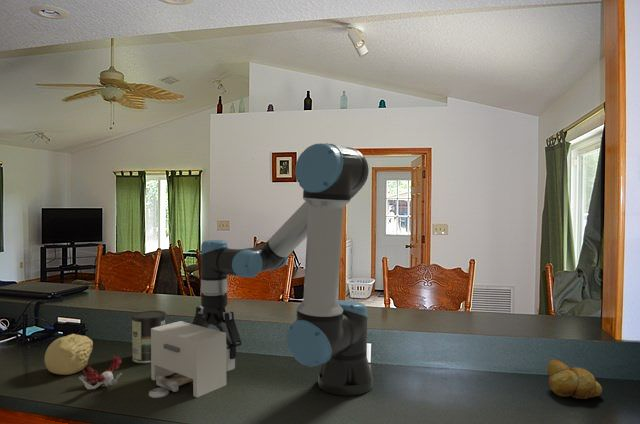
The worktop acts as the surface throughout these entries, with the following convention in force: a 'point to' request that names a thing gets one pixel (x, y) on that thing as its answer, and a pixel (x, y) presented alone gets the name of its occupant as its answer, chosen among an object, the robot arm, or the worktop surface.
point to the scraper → (172, 382)
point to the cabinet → (190, 355)
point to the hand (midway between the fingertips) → (214, 364)
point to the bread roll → (572, 381)
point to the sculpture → (68, 354)
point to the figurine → (104, 377)
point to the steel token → (158, 392)
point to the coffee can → (144, 333)
